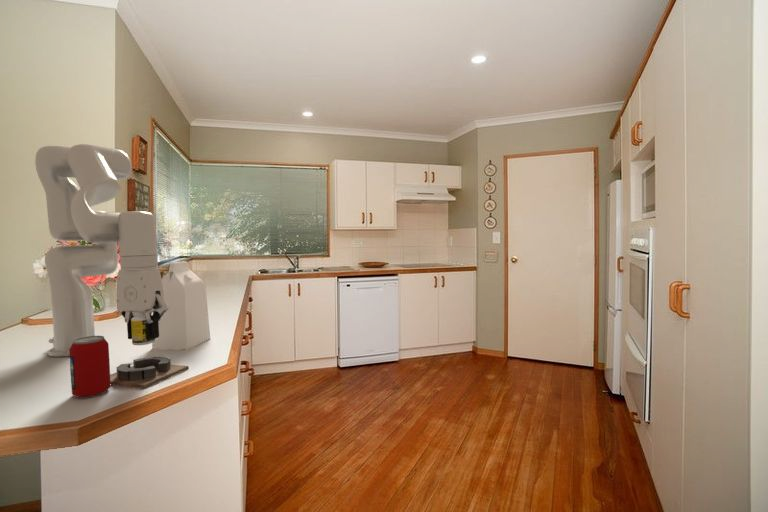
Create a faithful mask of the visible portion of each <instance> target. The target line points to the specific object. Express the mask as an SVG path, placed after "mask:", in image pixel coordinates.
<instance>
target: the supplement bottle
mask: <svg viewBox="0 0 768 512" xmlns="http://www.w3.org/2000/svg"><path fill="white" fill-rule="evenodd" d="M151 309H152V308H151ZM132 313H133V316H134V317H133V318H132V319H131V328H132V339H131V342H132V343H131V344H132V345H133V346H145V345H150V344H151V345H152V343H153V342H155V339H151V340H146V330H145V324H146V323H148V322H147V319H146V315H145V312H132ZM151 315H153V312H151Z"/></svg>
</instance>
